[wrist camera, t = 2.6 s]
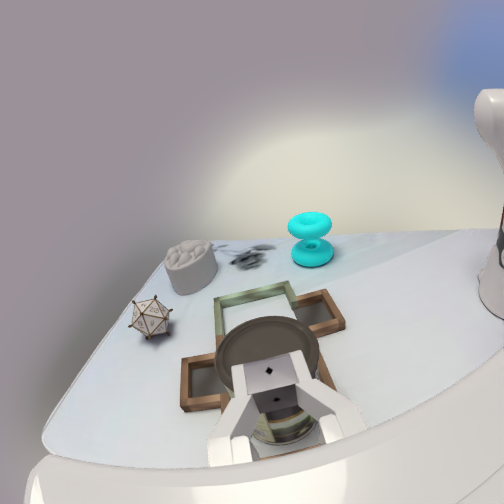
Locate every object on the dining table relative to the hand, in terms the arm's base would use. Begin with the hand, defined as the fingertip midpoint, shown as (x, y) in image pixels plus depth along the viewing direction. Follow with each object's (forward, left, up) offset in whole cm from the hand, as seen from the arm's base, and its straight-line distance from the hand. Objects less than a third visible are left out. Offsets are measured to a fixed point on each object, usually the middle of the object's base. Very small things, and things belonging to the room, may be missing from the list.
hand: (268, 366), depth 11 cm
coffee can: (0, -10, -25) cm, 27 cm away
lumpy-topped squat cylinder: (+13, -49, -25) cm, 57 cm away
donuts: (-16, -46, -25) cm, 55 cm away
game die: (+20, -32, -25) cm, 45 cm away
